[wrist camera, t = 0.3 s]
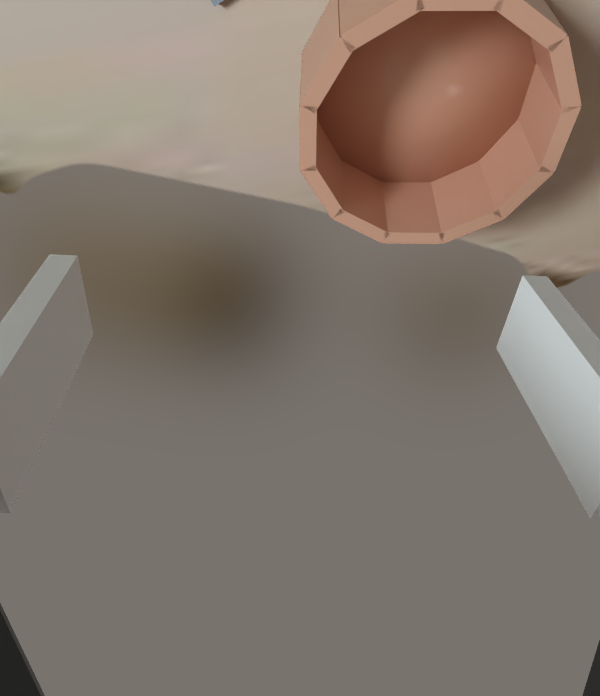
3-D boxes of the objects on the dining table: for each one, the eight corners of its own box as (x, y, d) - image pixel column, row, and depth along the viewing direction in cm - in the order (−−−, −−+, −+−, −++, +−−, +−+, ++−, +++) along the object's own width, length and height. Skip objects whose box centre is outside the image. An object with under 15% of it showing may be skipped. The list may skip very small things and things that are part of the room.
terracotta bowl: (510, -126, 28) (544, -90, 24) (565, 126, 38) (596, 183, 34) (256, 39, 35) (247, 92, 30) (363, 215, 45) (368, 273, 41)
